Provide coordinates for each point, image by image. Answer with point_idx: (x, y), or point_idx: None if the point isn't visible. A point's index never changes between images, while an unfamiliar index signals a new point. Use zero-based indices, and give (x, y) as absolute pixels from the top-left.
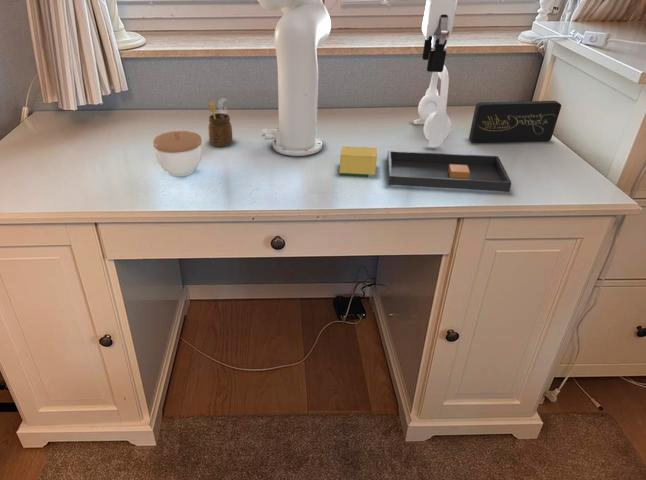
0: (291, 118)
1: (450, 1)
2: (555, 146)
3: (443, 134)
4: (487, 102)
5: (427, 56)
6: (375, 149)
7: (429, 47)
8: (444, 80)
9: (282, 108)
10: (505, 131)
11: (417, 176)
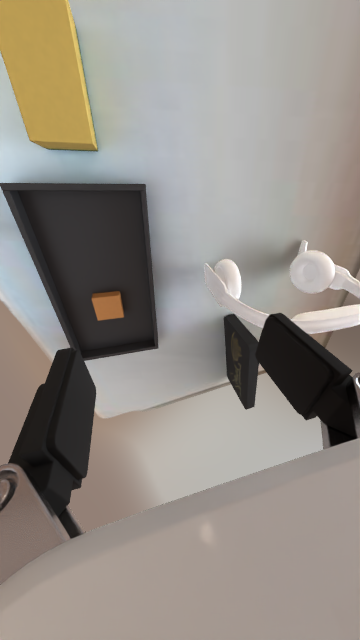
0: None
1: None
2: (215, 379)
3: (210, 290)
4: None
5: (270, 336)
6: (79, 138)
7: (295, 365)
8: None
9: None
10: (231, 352)
11: (78, 244)
